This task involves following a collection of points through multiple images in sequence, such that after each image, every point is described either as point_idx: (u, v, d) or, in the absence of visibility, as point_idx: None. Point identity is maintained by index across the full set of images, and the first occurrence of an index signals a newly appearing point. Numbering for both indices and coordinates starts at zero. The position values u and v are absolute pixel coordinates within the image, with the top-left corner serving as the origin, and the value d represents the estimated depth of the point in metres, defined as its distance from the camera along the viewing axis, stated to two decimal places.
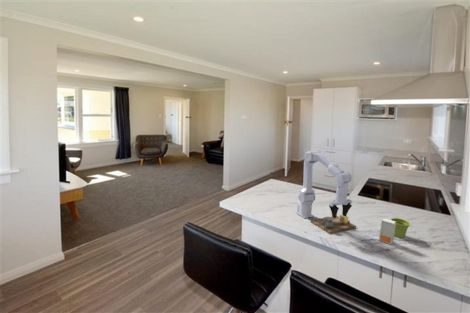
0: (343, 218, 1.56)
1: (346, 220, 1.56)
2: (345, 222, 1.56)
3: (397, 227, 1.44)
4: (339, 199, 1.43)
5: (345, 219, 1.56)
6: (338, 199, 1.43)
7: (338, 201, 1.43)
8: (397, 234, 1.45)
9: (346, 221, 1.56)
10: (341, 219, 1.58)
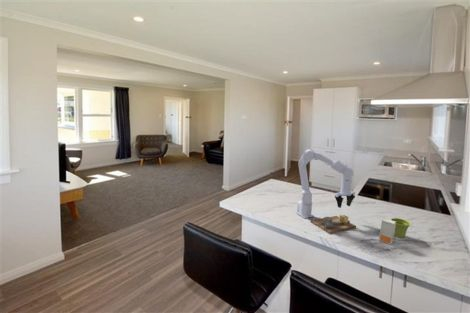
0: (343, 218, 1.56)
1: (346, 220, 1.56)
2: (345, 222, 1.56)
3: (397, 227, 1.44)
4: (344, 190, 1.60)
5: (345, 219, 1.56)
6: (343, 190, 1.61)
7: (343, 192, 1.61)
8: (397, 234, 1.45)
9: (346, 221, 1.56)
10: (341, 219, 1.58)
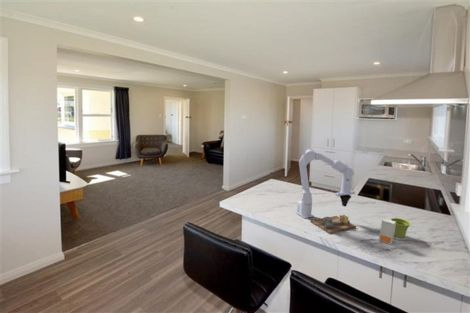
0: (343, 218, 1.56)
1: (346, 220, 1.56)
2: (345, 222, 1.56)
3: (397, 227, 1.44)
4: (344, 190, 1.61)
5: (345, 219, 1.56)
6: (343, 190, 1.62)
7: (343, 192, 1.62)
8: (397, 234, 1.45)
9: (346, 221, 1.56)
10: (341, 219, 1.58)
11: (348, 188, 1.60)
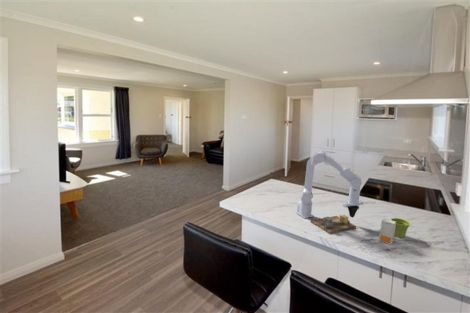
0: (343, 218, 1.56)
1: (346, 220, 1.56)
2: (345, 222, 1.56)
3: (397, 227, 1.44)
4: (352, 201, 1.56)
5: (345, 219, 1.56)
6: (351, 201, 1.56)
7: (351, 202, 1.56)
8: (397, 234, 1.45)
9: (346, 221, 1.56)
10: (341, 219, 1.58)
11: (356, 199, 1.55)
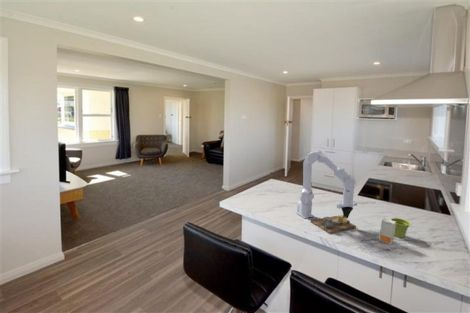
0: (341, 218, 1.56)
1: (345, 220, 1.56)
2: (344, 222, 1.56)
3: (397, 227, 1.44)
4: (346, 202, 1.54)
5: (343, 219, 1.55)
6: (345, 202, 1.54)
7: (345, 203, 1.54)
8: (397, 234, 1.45)
9: (344, 221, 1.56)
10: (339, 219, 1.57)
11: (350, 200, 1.53)
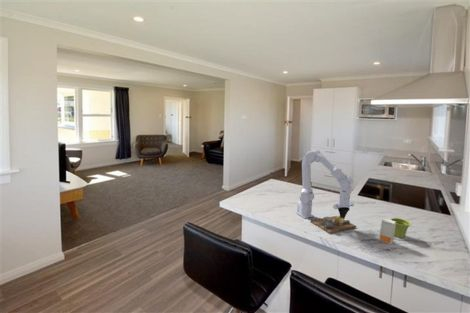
0: (338, 219, 1.54)
1: (341, 221, 1.55)
2: (340, 223, 1.55)
3: (397, 227, 1.44)
4: (342, 202, 1.53)
5: (340, 220, 1.54)
6: (341, 202, 1.53)
7: (341, 204, 1.53)
8: (397, 234, 1.45)
9: (341, 222, 1.55)
10: (336, 220, 1.56)
11: (346, 200, 1.52)
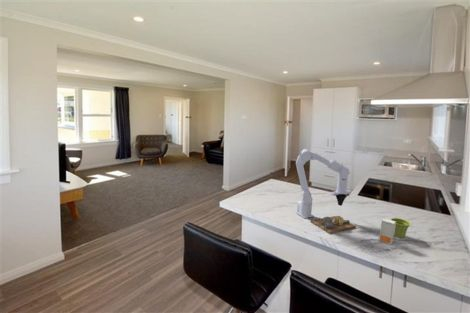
0: (338, 219, 1.54)
1: (341, 221, 1.55)
2: (340, 223, 1.55)
3: (397, 227, 1.44)
4: (340, 189, 1.63)
5: (340, 220, 1.54)
6: (339, 189, 1.63)
7: (339, 191, 1.63)
8: (397, 234, 1.45)
9: (341, 222, 1.55)
10: (336, 220, 1.56)
11: (344, 187, 1.62)
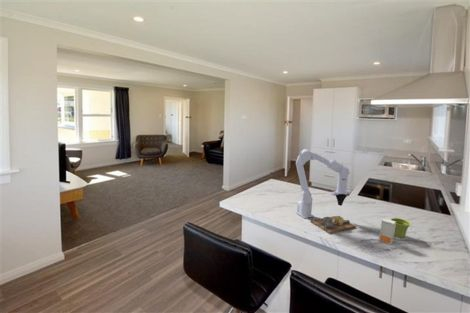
0: (338, 219, 1.54)
1: (341, 221, 1.55)
2: (340, 223, 1.55)
3: (397, 227, 1.44)
4: (340, 189, 1.63)
5: (340, 220, 1.54)
6: (339, 189, 1.63)
7: (339, 191, 1.63)
8: (397, 234, 1.45)
9: (341, 222, 1.55)
10: (336, 220, 1.56)
11: (344, 187, 1.62)
